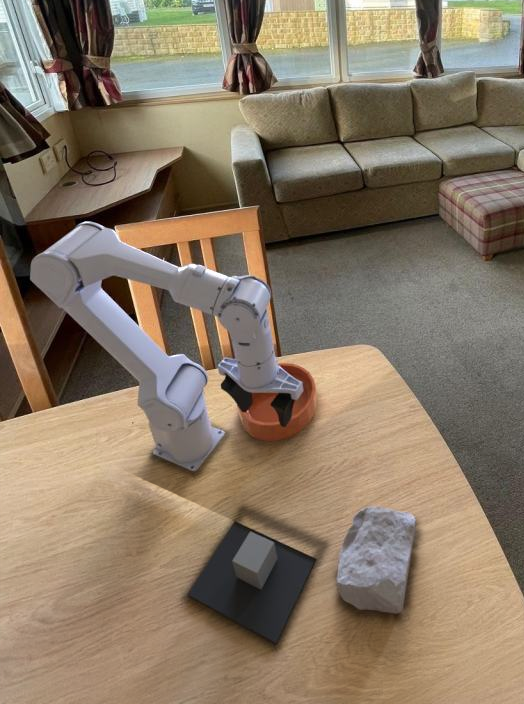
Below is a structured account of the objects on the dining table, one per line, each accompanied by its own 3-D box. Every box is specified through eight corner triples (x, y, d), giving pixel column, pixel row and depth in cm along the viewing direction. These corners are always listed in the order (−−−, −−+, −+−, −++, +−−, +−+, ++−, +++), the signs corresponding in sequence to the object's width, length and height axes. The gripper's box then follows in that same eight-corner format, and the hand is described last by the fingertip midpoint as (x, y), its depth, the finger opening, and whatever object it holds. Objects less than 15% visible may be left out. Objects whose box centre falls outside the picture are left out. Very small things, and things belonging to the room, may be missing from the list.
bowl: (224, 428, 88) (220, 411, 86) (269, 372, 100) (266, 355, 98) (292, 453, 83) (289, 436, 81) (330, 391, 95) (328, 374, 93)
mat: (187, 596, 65) (187, 594, 65) (242, 510, 75) (242, 508, 75) (276, 644, 60) (276, 643, 60) (322, 546, 70) (322, 544, 70)
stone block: (335, 611, 64) (408, 620, 61) (326, 588, 63) (400, 597, 60) (358, 521, 75) (421, 525, 72) (351, 500, 73) (415, 504, 70)
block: (236, 577, 66) (232, 561, 65) (254, 547, 70) (250, 531, 68) (261, 589, 65) (256, 573, 63) (277, 558, 68) (274, 542, 66)
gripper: (309, 346, 74) (317, 408, 80) (232, 324, 79) (245, 384, 85) (284, 380, 68) (294, 444, 74) (203, 353, 73) (218, 416, 79)
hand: (266, 414), depth 79 cm, fingers open, 7 cm apart
